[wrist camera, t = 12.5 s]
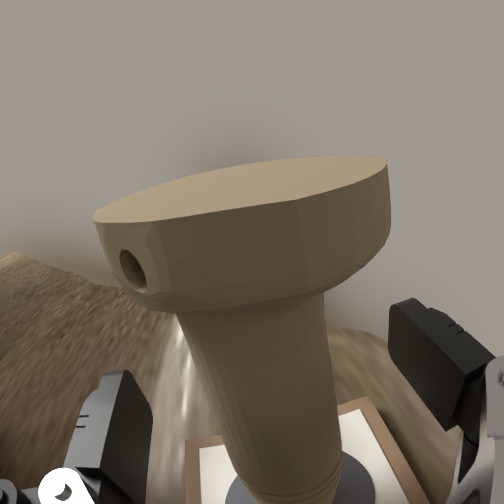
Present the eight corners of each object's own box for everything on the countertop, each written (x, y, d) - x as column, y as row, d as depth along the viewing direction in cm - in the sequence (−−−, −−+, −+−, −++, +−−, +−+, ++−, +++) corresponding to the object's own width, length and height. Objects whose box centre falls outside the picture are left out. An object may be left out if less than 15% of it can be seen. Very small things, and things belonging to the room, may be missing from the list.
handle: (275, 448, 15) (200, 170, 10) (379, 486, 11) (408, 151, 6) (220, 507, 12) (61, 223, 6) (330, 563, 8) (305, 225, 2)
